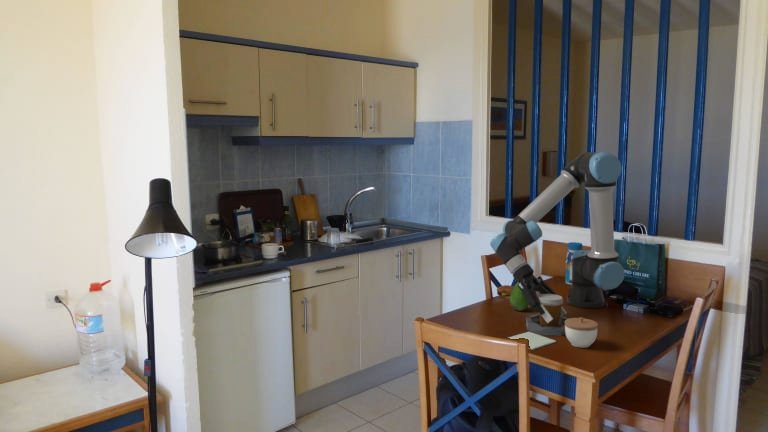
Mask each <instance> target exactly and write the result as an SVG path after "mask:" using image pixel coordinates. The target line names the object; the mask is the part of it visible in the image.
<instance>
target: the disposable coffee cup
mask: <svg viewBox="0 0 768 432" xmlns="http://www.w3.org/2000/svg"><path fill="white" fill-rule="evenodd" d="M537 297H538V299H539V302H540V305H541V304H543V306H544V307H545V308H546V310H547V311H548V312H549V314H550V315H551V316H552V318H553V320H551V321H550V322H549V323H547V322H546V321H545V319H544V318H543V317H542V315H541V314H540V313H539V312H538V314H539V319H540V323H539V324H540V325H543V326H560V325H559V319H560V313H561V307H563V303H564V299H563V296H561V295H559V294H557V295H555V294H541V293H539V294H537Z"/></svg>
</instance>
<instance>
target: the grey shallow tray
mask: <svg viewBox="0 0 768 432" xmlns="http://www.w3.org/2000/svg"><path fill="white" fill-rule="evenodd" d="M570 318H571V317H570ZM570 318H569V317H566V316H564V315H563V316H562V317H560V319H559V325H558V326H543V325H540V319H539V313H536V314H531V315H528V316H526V317H525V321H526V322H525V326H526V330H527V332H532V333H534V334H537V335H540V336H550V337H551V336H554V337H555V336H557V337H562V336H566V334H565V320H567V319H570Z"/></svg>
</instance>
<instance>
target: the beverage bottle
mask: <svg viewBox="0 0 768 432" xmlns="http://www.w3.org/2000/svg"><path fill="white" fill-rule="evenodd" d="M567 250H568V251H567V253H566V256H565V259H566V260H565V278H564V279H565V281H564V282H565V284H567V285H570V286H572V258H573V253H574V252H575V251H582V250H583V243H582V242H578V241H577V242H576V241H574V242H573V241H571V242H568V243H567Z"/></svg>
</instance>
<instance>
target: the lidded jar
mask: <svg viewBox="0 0 768 432" xmlns="http://www.w3.org/2000/svg"><path fill="white" fill-rule="evenodd" d="M598 328H599V323H598V322H597V321H595V320H592V319H588V318H584V317H570V319H567V320H565V334H566V335H565V336H566V337H565V338H566V339H567V340H568V341H569V343H570V344H571V346H573V347H576V348H581V349H583V348H584V349H585V348H589V347H590V346H591V345H592V344H593V343H594V342H595V341H596V340H597V339H596V338H597V336H598V330H599V329H598Z"/></svg>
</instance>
